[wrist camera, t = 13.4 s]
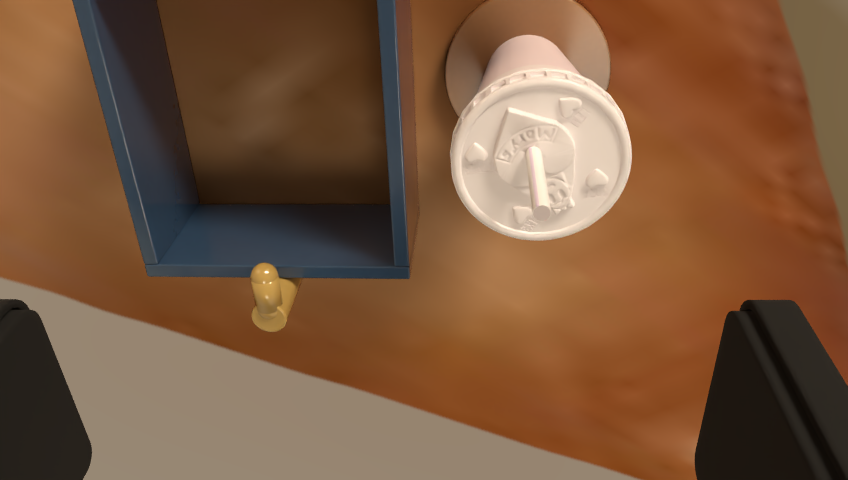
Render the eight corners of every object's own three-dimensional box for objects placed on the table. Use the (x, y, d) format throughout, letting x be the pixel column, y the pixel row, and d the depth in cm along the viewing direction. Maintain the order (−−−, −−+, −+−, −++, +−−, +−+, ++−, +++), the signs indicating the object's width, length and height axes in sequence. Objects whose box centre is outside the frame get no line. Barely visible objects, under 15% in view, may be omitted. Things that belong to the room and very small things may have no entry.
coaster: (443, -11, 33) (443, -8, 32) (617, -14, 32) (619, -12, 32) (446, 147, 37) (446, 151, 36) (601, 146, 36) (603, 150, 36)
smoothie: (559, -24, 32) (606, 87, 20) (619, 100, 34) (692, 264, 22) (431, 49, 34) (403, 190, 22) (497, 161, 36) (504, 341, 25)
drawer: (125, -73, 32) (26, -35, 25) (406, -81, 32) (385, -44, 25) (195, 240, 41) (136, 333, 34) (420, 241, 40) (407, 337, 33)
